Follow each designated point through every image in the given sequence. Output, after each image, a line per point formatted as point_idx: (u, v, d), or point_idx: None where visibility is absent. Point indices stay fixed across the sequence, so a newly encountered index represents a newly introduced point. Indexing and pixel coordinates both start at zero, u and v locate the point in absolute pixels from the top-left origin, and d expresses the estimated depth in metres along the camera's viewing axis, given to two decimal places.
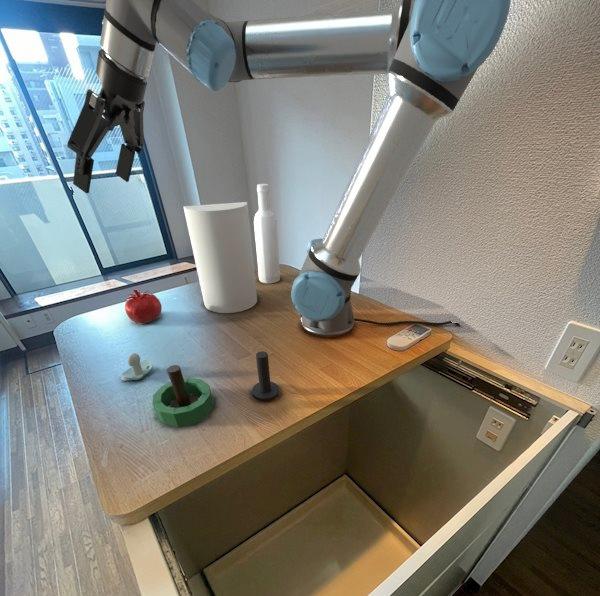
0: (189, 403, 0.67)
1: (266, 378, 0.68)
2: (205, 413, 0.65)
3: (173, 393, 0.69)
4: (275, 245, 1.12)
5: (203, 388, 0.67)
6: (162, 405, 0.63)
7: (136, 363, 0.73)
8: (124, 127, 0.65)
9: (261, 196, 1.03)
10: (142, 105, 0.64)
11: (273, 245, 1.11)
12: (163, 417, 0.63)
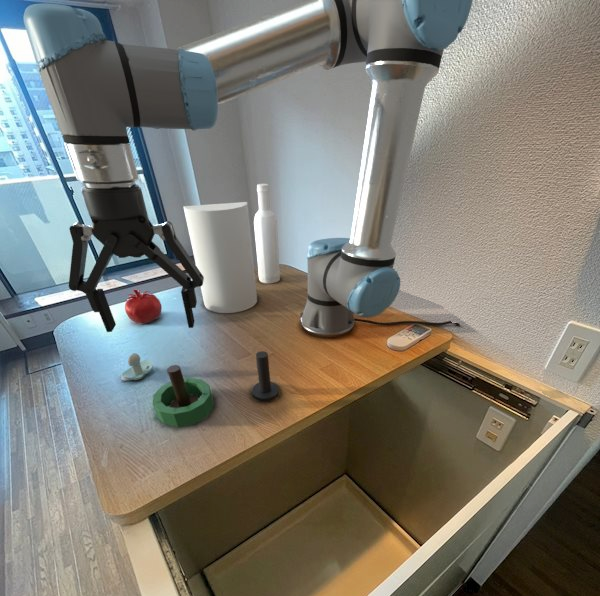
0: (189, 403, 0.67)
1: (266, 378, 0.68)
2: (205, 413, 0.65)
3: (173, 393, 0.69)
4: (275, 245, 1.12)
5: (203, 388, 0.67)
6: (162, 405, 0.63)
7: (136, 363, 0.73)
8: (107, 264, 0.50)
9: (260, 196, 1.03)
10: None
11: (273, 245, 1.11)
12: (163, 417, 0.63)
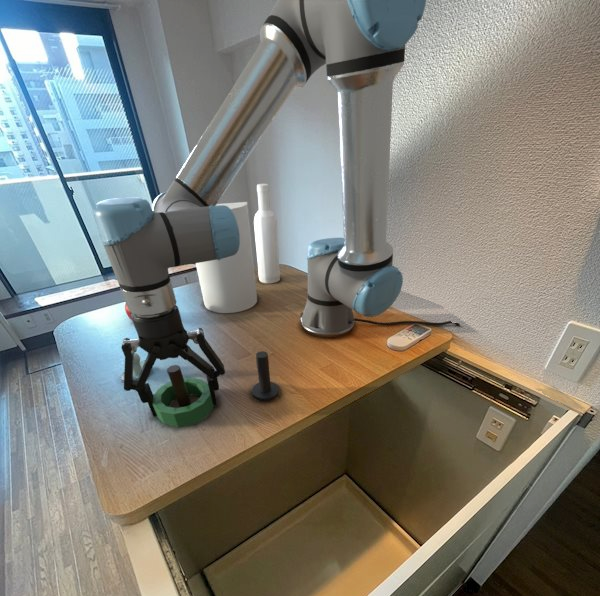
0: (189, 403, 0.67)
1: (266, 378, 0.68)
2: (205, 413, 0.65)
3: (173, 393, 0.69)
4: (275, 245, 1.12)
5: (203, 388, 0.67)
6: (162, 405, 0.63)
7: (136, 363, 0.73)
8: None
9: (260, 196, 1.03)
10: None
11: (273, 245, 1.11)
12: (163, 417, 0.63)
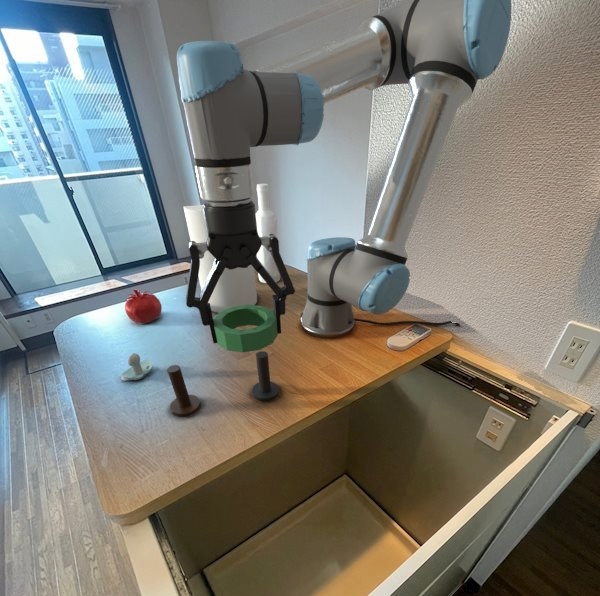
0: (189, 403, 0.67)
1: (266, 378, 0.68)
2: (271, 339, 0.59)
3: (232, 321, 0.62)
4: None
5: (267, 313, 0.60)
6: (225, 327, 0.57)
7: (136, 363, 0.73)
8: None
9: (260, 196, 1.03)
10: None
11: None
12: (227, 340, 0.56)
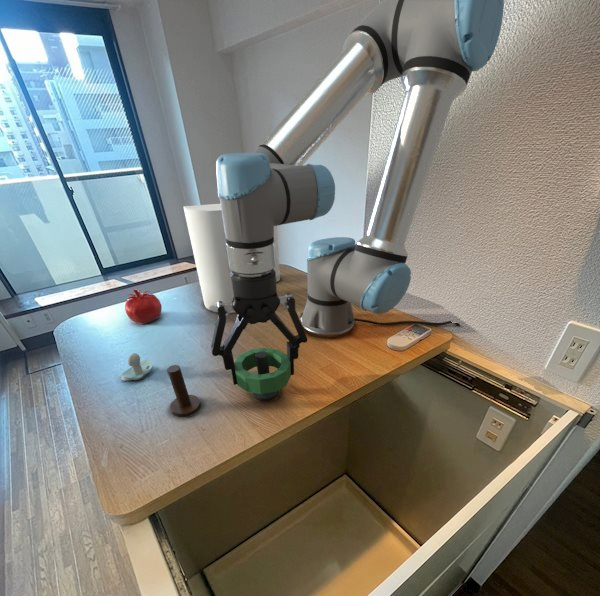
0: (189, 403, 0.67)
1: None
2: (286, 381, 0.66)
3: (249, 363, 0.69)
4: (275, 245, 1.12)
5: (282, 357, 0.67)
6: (245, 372, 0.64)
7: (136, 363, 0.73)
8: None
9: None
10: None
11: None
12: (247, 384, 0.63)
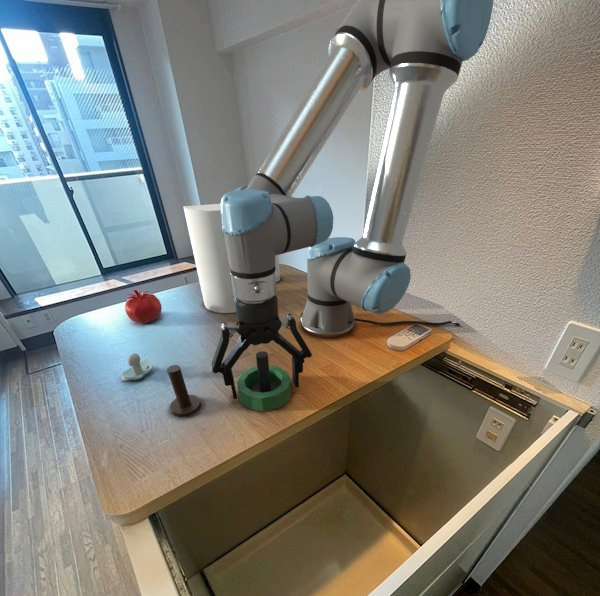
0: (189, 403, 0.67)
1: (266, 378, 0.68)
2: (287, 398, 0.68)
3: (252, 380, 0.72)
4: None
5: (282, 374, 0.70)
6: (248, 390, 0.67)
7: (136, 363, 0.73)
8: None
9: None
10: None
11: None
12: (249, 401, 0.66)
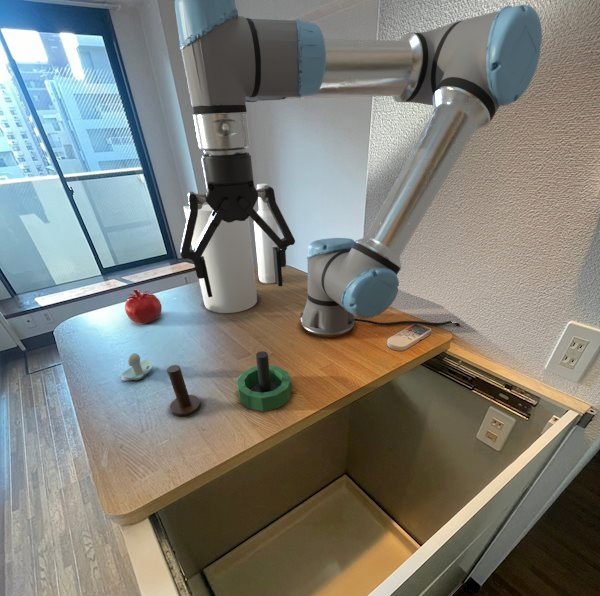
0: (189, 403, 0.67)
1: (266, 378, 0.68)
2: (287, 398, 0.68)
3: (252, 380, 0.72)
4: (275, 245, 1.12)
5: (282, 374, 0.70)
6: (248, 390, 0.67)
7: (136, 363, 0.73)
8: None
9: None
10: None
11: (273, 245, 1.11)
12: (249, 401, 0.66)
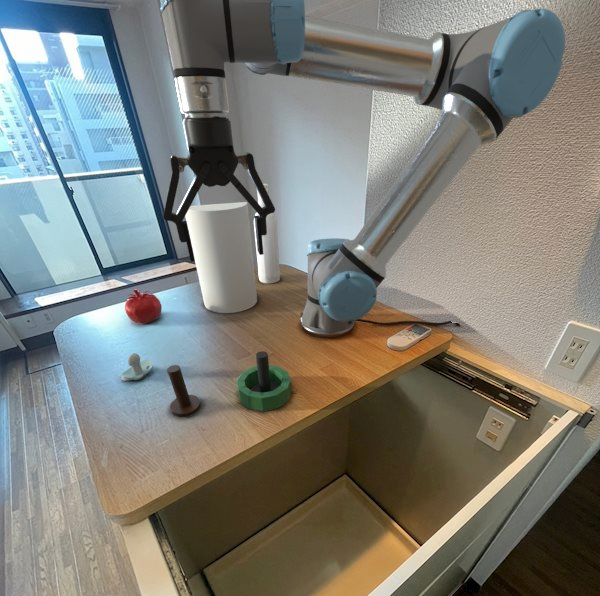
0: (189, 403, 0.67)
1: (266, 378, 0.68)
2: (287, 398, 0.68)
3: (252, 380, 0.72)
4: (275, 245, 1.12)
5: (282, 374, 0.70)
6: (248, 390, 0.67)
7: (136, 363, 0.73)
8: None
9: (260, 196, 1.03)
10: None
11: (273, 245, 1.11)
12: (249, 401, 0.66)
